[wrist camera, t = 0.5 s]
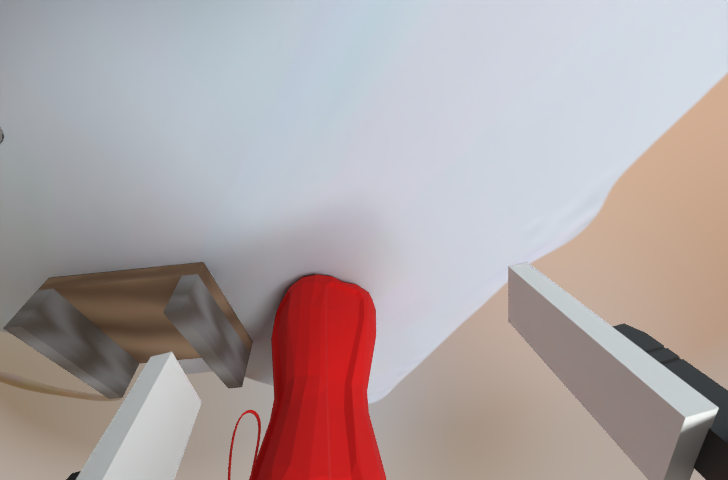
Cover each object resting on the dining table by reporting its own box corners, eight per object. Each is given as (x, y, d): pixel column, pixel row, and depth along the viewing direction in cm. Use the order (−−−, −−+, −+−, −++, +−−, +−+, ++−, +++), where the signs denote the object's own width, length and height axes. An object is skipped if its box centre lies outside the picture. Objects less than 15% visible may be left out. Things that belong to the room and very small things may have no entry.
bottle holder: (48, 277, 31) (3, 328, 27) (203, 262, 30) (180, 310, 26) (133, 352, 40) (109, 398, 36) (252, 341, 40) (241, 387, 36)
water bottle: (284, 254, 30) (183, 751, 11) (385, 288, 34) (433, 701, 15) (254, 308, 35) (153, 709, 17) (345, 332, 39) (344, 680, 21)
